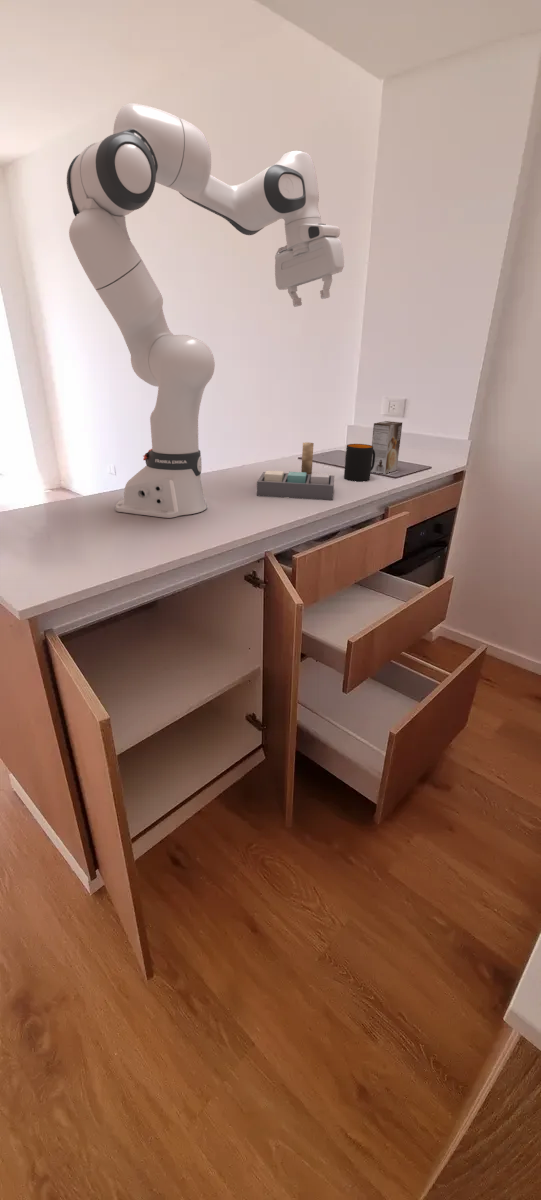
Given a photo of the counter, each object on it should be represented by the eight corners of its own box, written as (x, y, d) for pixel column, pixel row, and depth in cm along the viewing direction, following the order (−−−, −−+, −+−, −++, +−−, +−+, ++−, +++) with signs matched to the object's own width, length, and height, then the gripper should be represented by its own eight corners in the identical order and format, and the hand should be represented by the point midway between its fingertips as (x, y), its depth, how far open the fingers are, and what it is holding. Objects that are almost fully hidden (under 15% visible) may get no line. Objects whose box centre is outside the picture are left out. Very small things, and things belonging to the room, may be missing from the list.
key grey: (310, 487, 145) (310, 476, 144) (311, 483, 150) (311, 472, 149) (328, 488, 145) (328, 477, 144) (328, 484, 149) (329, 473, 148)
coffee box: (380, 468, 185) (385, 420, 178) (397, 470, 181) (403, 422, 174) (368, 472, 178) (373, 422, 171) (385, 474, 174) (391, 424, 168)
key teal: (287, 485, 146) (287, 475, 145) (288, 482, 151) (289, 471, 149) (304, 486, 146) (305, 476, 144) (306, 483, 150) (306, 472, 149)
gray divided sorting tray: (256, 495, 144) (257, 481, 143) (263, 485, 156) (263, 471, 154) (332, 500, 142) (333, 485, 140) (333, 489, 154) (334, 475, 152)
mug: (382, 478, 169) (386, 445, 165) (357, 482, 162) (361, 448, 158) (363, 473, 175) (366, 442, 171) (338, 478, 168) (341, 445, 164)
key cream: (264, 484, 147) (264, 474, 145) (266, 480, 151) (266, 470, 150) (281, 485, 146) (282, 474, 145) (283, 481, 151) (284, 471, 149)
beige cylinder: (300, 484, 158) (302, 443, 153) (301, 482, 161) (303, 442, 156) (310, 485, 158) (313, 444, 153) (311, 482, 161) (313, 442, 156)
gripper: (265, 249, 131) (273, 311, 137) (327, 223, 117) (334, 293, 123) (283, 250, 135) (290, 310, 141) (345, 225, 121) (350, 293, 126)
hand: (311, 302), depth 132 cm, fingers open, 8 cm apart
